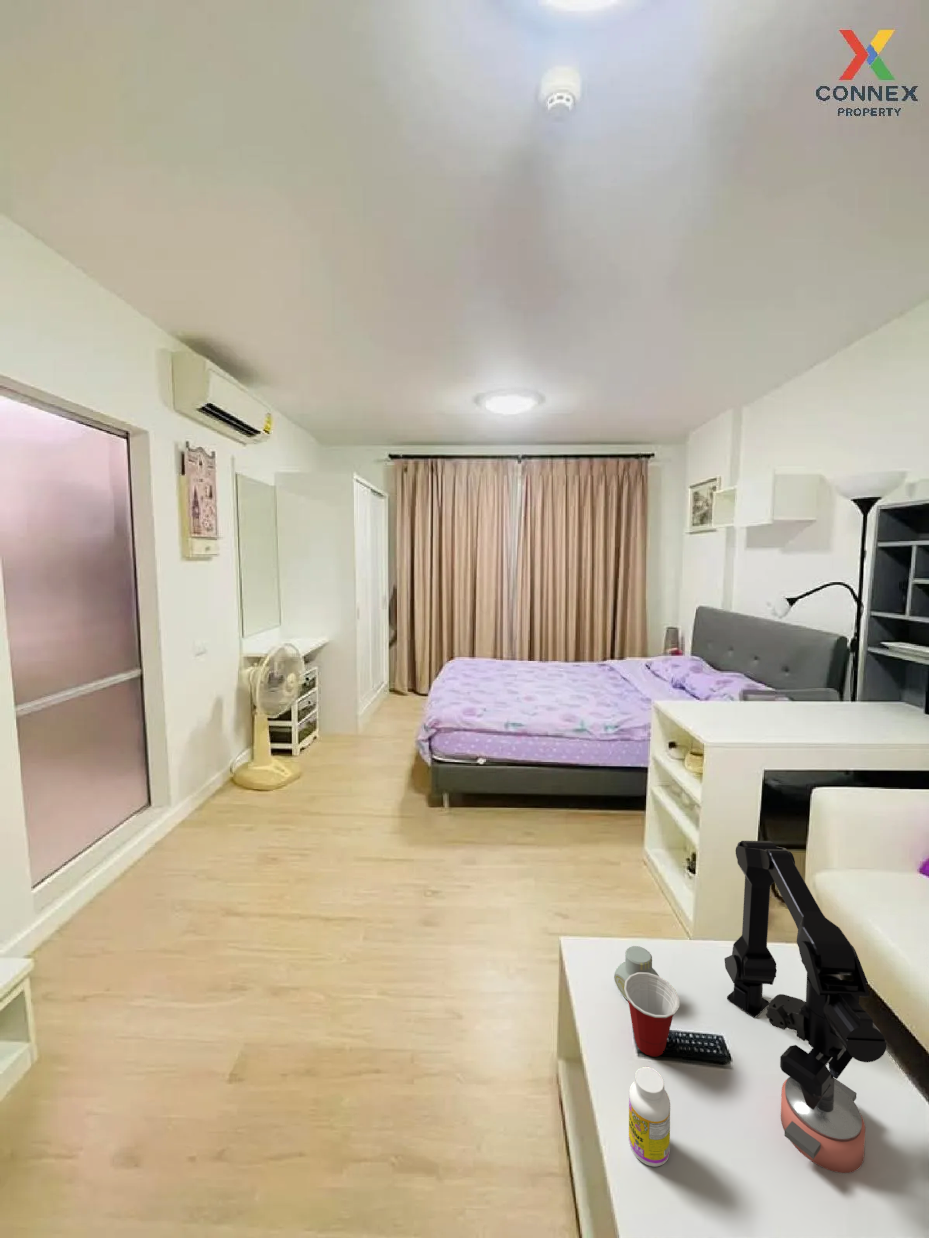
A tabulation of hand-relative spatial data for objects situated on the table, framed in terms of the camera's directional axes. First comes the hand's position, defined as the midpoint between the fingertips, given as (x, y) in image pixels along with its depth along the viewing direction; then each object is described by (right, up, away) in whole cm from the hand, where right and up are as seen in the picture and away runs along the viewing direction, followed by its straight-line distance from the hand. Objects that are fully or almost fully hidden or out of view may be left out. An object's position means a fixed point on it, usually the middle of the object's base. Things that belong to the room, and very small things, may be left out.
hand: (822, 1091), depth 92 cm
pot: (0, -8, +1) cm, 8 cm away
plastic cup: (-23, -7, +19) cm, 31 cm away
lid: (0, -3, 0) cm, 3 cm away
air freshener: (-21, -6, +32) cm, 39 cm away
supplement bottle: (-30, -9, -1) cm, 32 cm away
